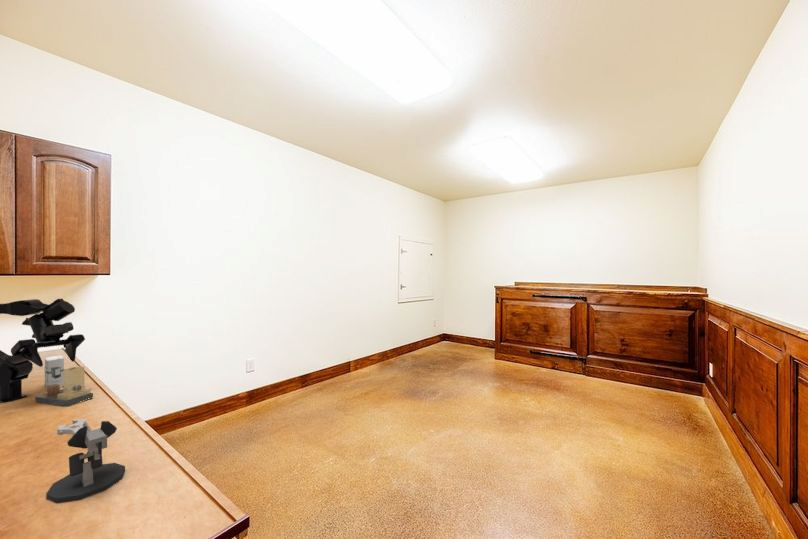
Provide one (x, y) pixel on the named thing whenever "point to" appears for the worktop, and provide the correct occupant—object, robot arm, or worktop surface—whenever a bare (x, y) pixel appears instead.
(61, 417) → the worktop surface
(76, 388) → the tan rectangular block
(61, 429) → the adjustable wrench
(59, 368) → the ink box
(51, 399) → the brushed steel slab
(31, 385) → the worktop surface
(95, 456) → the gun turret
